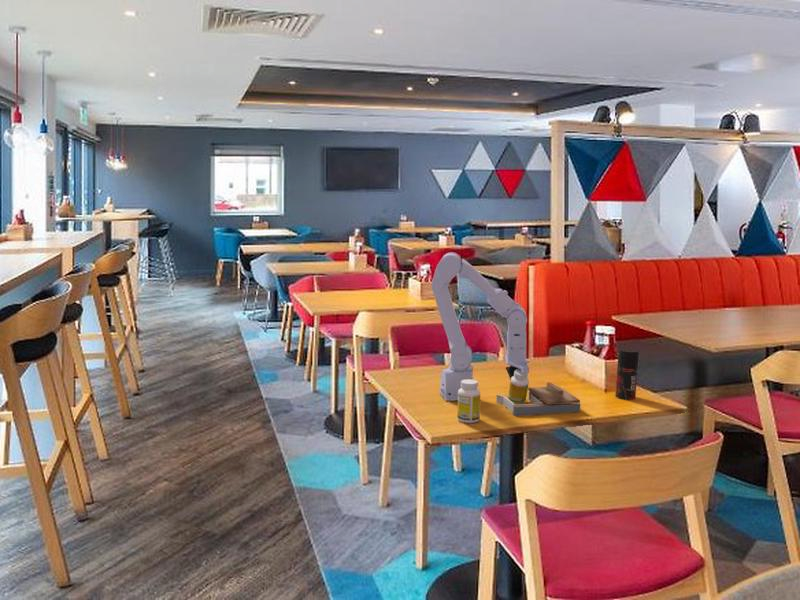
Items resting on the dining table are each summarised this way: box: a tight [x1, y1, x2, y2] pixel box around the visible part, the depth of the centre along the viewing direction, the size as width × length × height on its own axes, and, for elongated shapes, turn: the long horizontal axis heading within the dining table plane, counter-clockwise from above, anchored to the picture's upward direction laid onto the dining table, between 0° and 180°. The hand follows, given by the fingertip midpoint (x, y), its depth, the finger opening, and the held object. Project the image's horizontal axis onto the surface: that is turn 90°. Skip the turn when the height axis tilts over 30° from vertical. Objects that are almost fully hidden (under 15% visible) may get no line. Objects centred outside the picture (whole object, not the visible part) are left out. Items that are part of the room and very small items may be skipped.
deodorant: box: [614, 347, 640, 401], centre depth 222 cm, size 6×6×15 cm
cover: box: [528, 382, 581, 405], centre depth 212 cm, size 10×14×3 cm
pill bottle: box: [457, 379, 481, 424], centre depth 198 cm, size 6×6×11 cm
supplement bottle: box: [507, 369, 530, 405], centre depth 214 cm, size 5×5×10 cm
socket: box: [496, 390, 581, 417], centre depth 212 cm, size 21×14×2 cm
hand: (516, 390), depth 218 cm, fingers closed, pressing on supplement bottle
